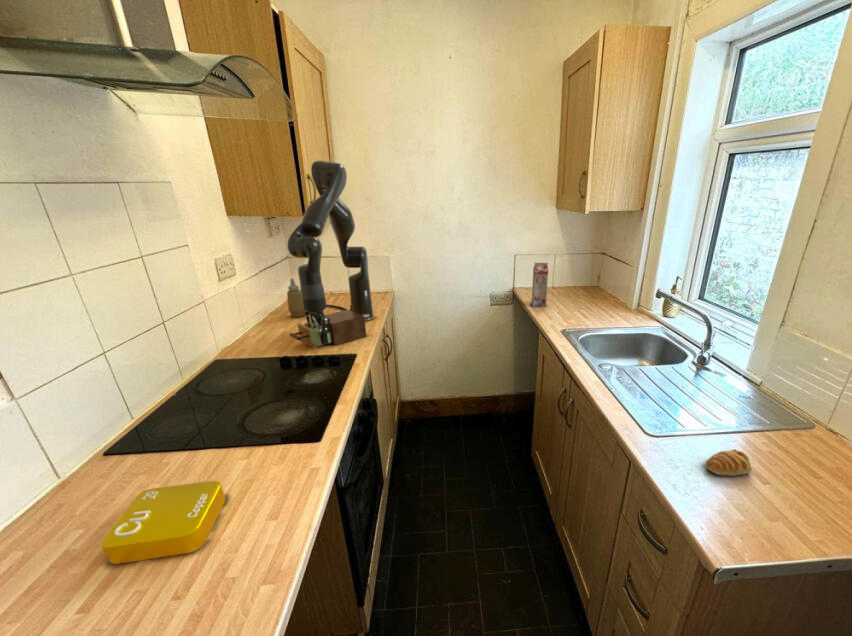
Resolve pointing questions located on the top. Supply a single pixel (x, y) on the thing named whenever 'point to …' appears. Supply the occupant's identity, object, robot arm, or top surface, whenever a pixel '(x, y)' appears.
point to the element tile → (165, 522)
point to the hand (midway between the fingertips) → (321, 341)
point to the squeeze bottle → (295, 300)
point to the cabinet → (346, 326)
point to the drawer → (307, 335)
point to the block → (317, 337)
